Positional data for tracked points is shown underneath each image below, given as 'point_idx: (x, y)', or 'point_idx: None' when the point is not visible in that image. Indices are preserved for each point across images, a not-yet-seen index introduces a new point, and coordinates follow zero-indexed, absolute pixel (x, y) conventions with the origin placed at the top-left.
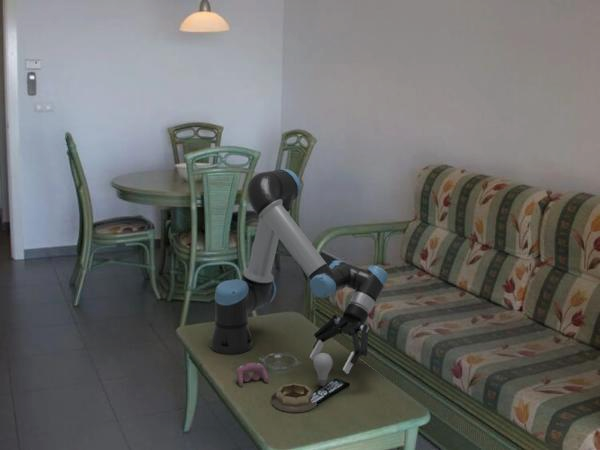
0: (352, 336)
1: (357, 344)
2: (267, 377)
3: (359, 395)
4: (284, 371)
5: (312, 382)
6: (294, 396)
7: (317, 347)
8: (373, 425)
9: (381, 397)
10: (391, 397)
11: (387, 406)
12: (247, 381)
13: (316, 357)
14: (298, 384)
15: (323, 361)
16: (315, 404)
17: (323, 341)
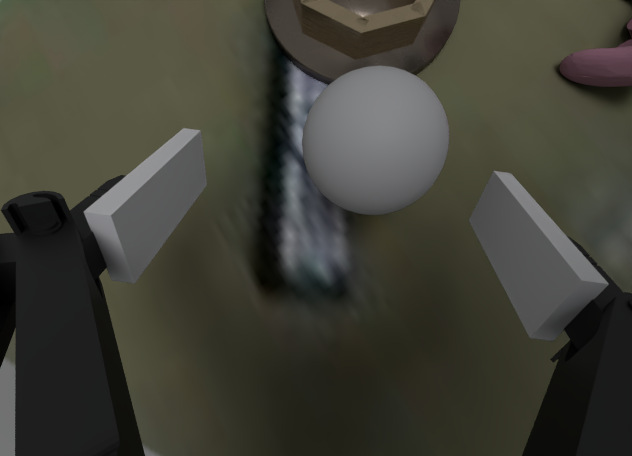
0: (101, 418)
1: (19, 302)
2: (580, 56)
3: None
4: (583, 215)
5: None
6: (375, 6)
7: (531, 232)
8: (3, 20)
9: None
10: None
11: (10, 191)
12: (628, 23)
13: (417, 77)
14: (396, 18)
15: (342, 76)
16: (264, 2)
17: (564, 351)
